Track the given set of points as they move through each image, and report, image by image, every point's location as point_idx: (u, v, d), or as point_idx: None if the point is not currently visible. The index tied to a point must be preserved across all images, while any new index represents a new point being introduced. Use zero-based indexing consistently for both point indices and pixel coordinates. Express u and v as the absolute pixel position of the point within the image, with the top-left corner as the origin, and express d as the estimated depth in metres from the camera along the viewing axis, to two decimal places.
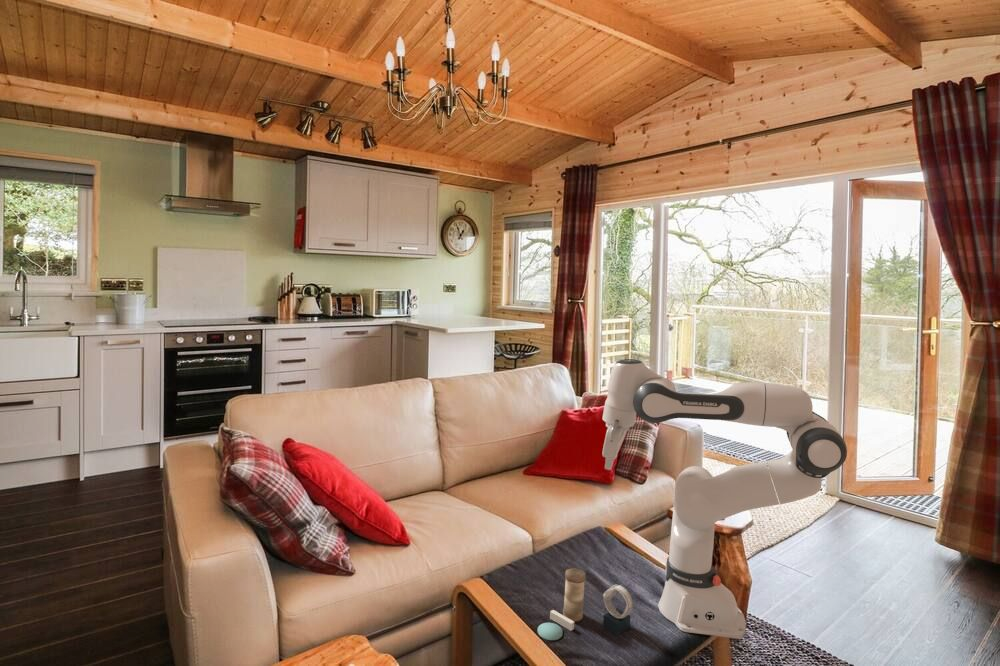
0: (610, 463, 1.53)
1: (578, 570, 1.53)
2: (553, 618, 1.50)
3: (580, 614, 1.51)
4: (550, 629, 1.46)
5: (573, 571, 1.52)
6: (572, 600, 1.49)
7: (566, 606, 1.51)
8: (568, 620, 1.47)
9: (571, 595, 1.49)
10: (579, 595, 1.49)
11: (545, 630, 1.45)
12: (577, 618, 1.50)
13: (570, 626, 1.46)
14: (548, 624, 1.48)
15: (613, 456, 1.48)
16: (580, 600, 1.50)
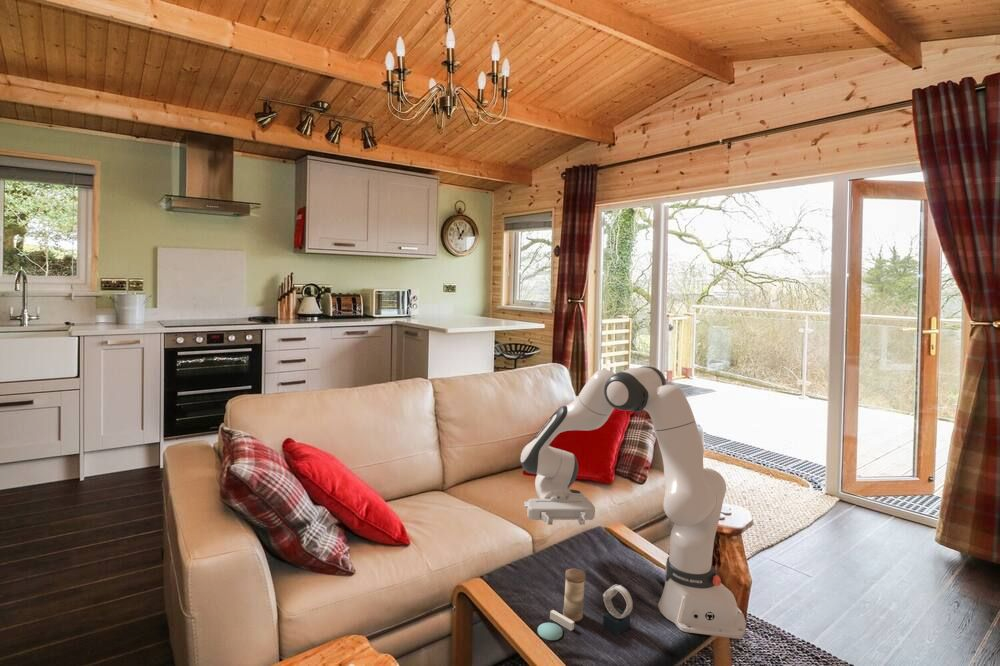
0: (545, 517, 1.63)
1: (578, 570, 1.53)
2: (553, 618, 1.50)
3: (580, 614, 1.51)
4: (550, 629, 1.46)
5: (573, 571, 1.52)
6: (572, 600, 1.49)
7: (566, 606, 1.51)
8: (568, 620, 1.47)
9: (571, 595, 1.49)
10: (579, 595, 1.49)
11: (545, 630, 1.45)
12: (577, 618, 1.50)
13: (570, 626, 1.46)
14: (548, 624, 1.48)
15: (528, 509, 1.66)
16: (580, 600, 1.50)
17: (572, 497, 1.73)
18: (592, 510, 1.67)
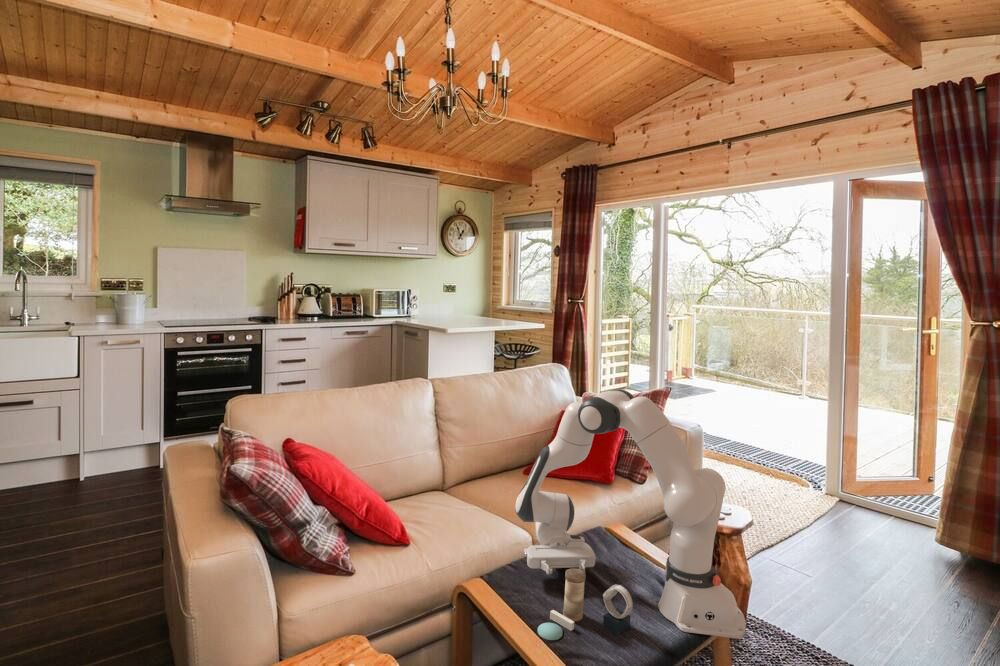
0: (545, 566, 1.63)
1: (578, 570, 1.53)
2: (553, 618, 1.50)
3: (580, 614, 1.51)
4: (550, 629, 1.46)
5: (573, 571, 1.52)
6: (572, 600, 1.49)
7: (566, 606, 1.51)
8: (568, 620, 1.47)
9: (571, 595, 1.49)
10: (579, 595, 1.49)
11: (545, 630, 1.45)
12: (577, 618, 1.50)
13: (570, 626, 1.46)
14: (548, 624, 1.48)
15: (528, 557, 1.66)
16: (580, 600, 1.50)
17: (572, 543, 1.72)
18: (592, 557, 1.67)
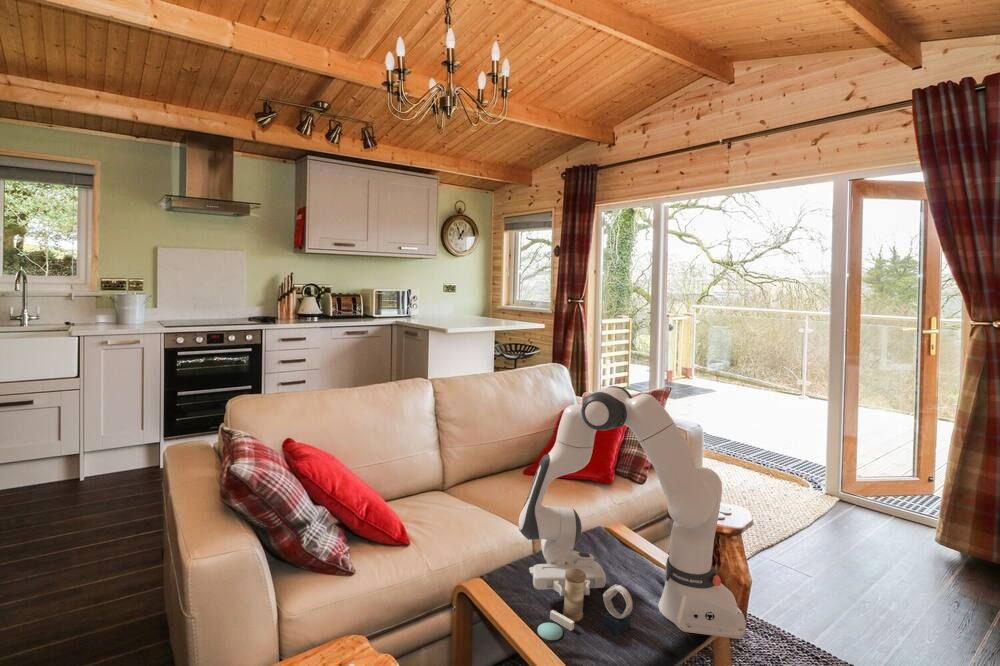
0: (558, 587, 1.52)
1: (578, 570, 1.53)
2: (553, 618, 1.50)
3: (580, 614, 1.51)
4: (550, 629, 1.46)
5: (573, 571, 1.52)
6: (572, 600, 1.49)
7: (566, 606, 1.51)
8: (568, 620, 1.47)
9: (571, 595, 1.49)
10: (579, 595, 1.49)
11: (545, 630, 1.45)
12: (577, 618, 1.50)
13: (570, 626, 1.46)
14: (548, 624, 1.48)
15: (534, 577, 1.55)
16: (580, 600, 1.50)
17: (581, 562, 1.62)
18: (602, 577, 1.56)
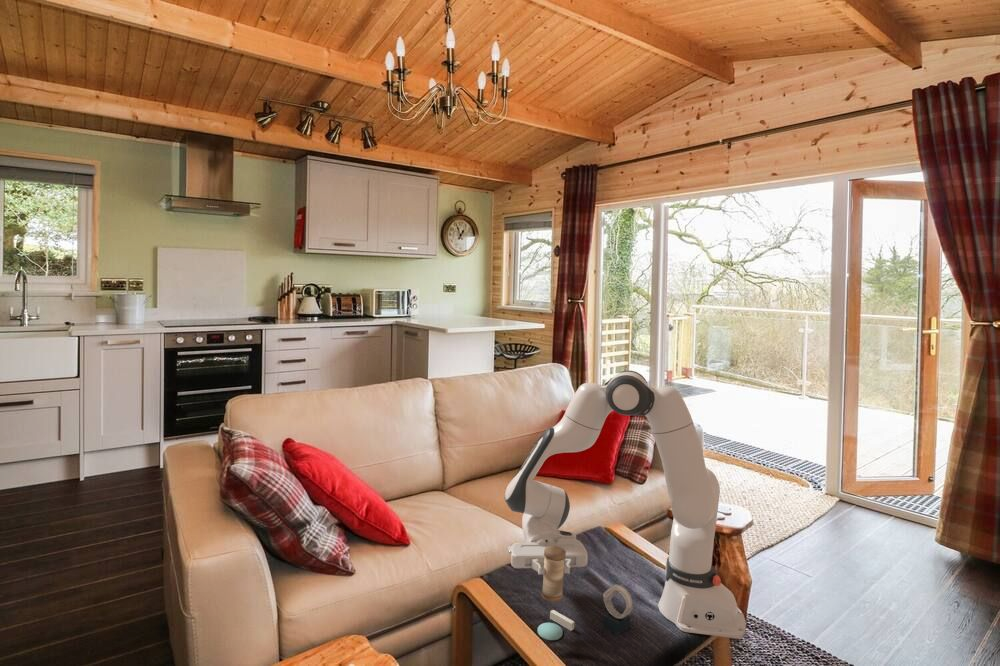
0: (536, 566, 1.44)
1: (558, 547, 1.44)
2: (553, 618, 1.50)
3: (560, 594, 1.42)
4: (550, 629, 1.46)
5: (552, 549, 1.44)
6: (551, 579, 1.41)
7: (545, 585, 1.42)
8: (568, 620, 1.47)
9: (550, 574, 1.41)
10: (558, 573, 1.41)
11: (545, 630, 1.45)
12: (556, 598, 1.42)
13: (570, 626, 1.46)
14: (548, 624, 1.48)
15: (512, 556, 1.47)
16: (559, 579, 1.41)
17: (562, 540, 1.53)
18: (584, 556, 1.48)
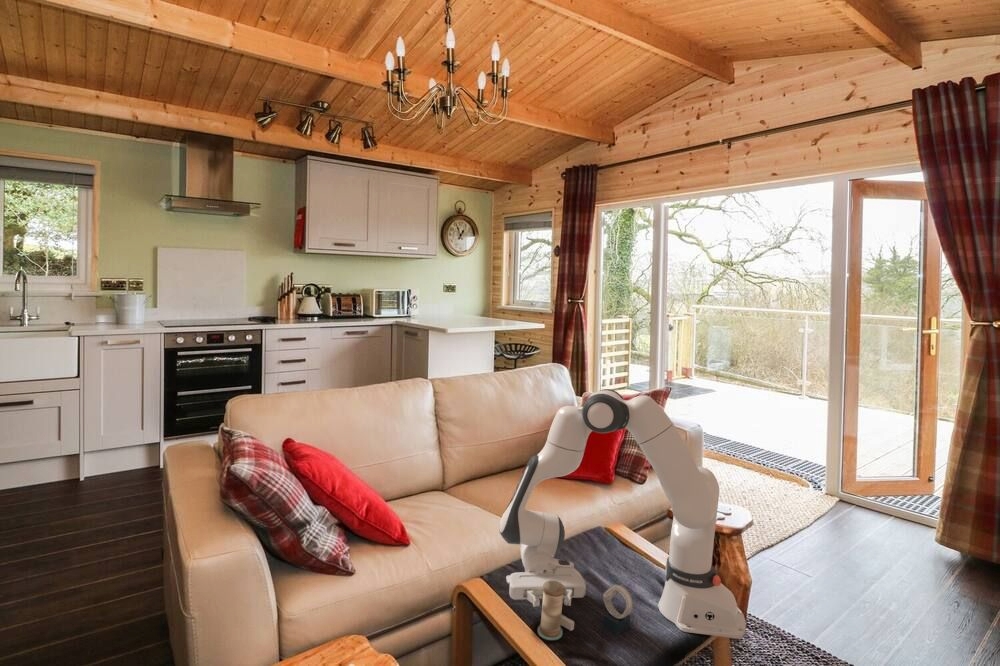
0: (531, 597, 1.45)
1: (557, 582, 1.46)
2: None
3: (557, 629, 1.43)
4: None
5: (551, 584, 1.45)
6: (549, 614, 1.42)
7: (543, 620, 1.44)
8: (568, 620, 1.47)
9: (548, 609, 1.42)
10: (556, 609, 1.42)
11: None
12: (554, 633, 1.43)
13: (570, 626, 1.46)
14: None
15: (510, 587, 1.48)
16: (557, 614, 1.43)
17: (560, 570, 1.54)
18: (582, 587, 1.49)
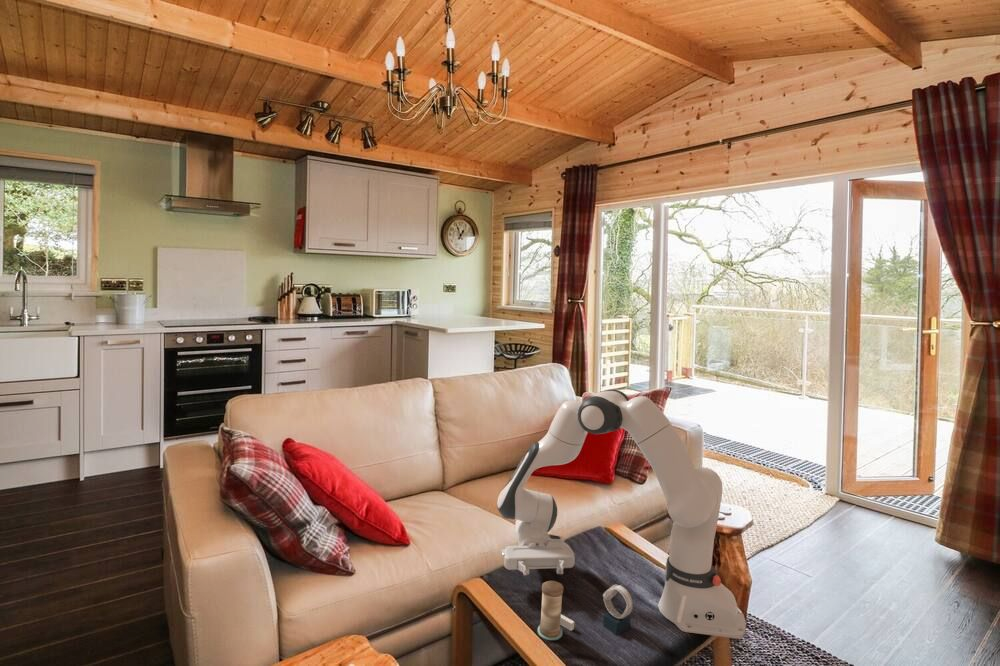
0: (522, 567, 1.57)
1: (556, 583, 1.46)
2: None
3: (557, 629, 1.43)
4: None
5: (550, 584, 1.45)
6: (549, 614, 1.42)
7: (543, 621, 1.44)
8: (568, 620, 1.47)
9: (548, 610, 1.42)
10: (556, 609, 1.42)
11: None
12: (554, 633, 1.43)
13: (570, 626, 1.46)
14: None
15: (505, 558, 1.60)
16: (557, 615, 1.43)
17: (551, 543, 1.67)
18: (571, 558, 1.62)
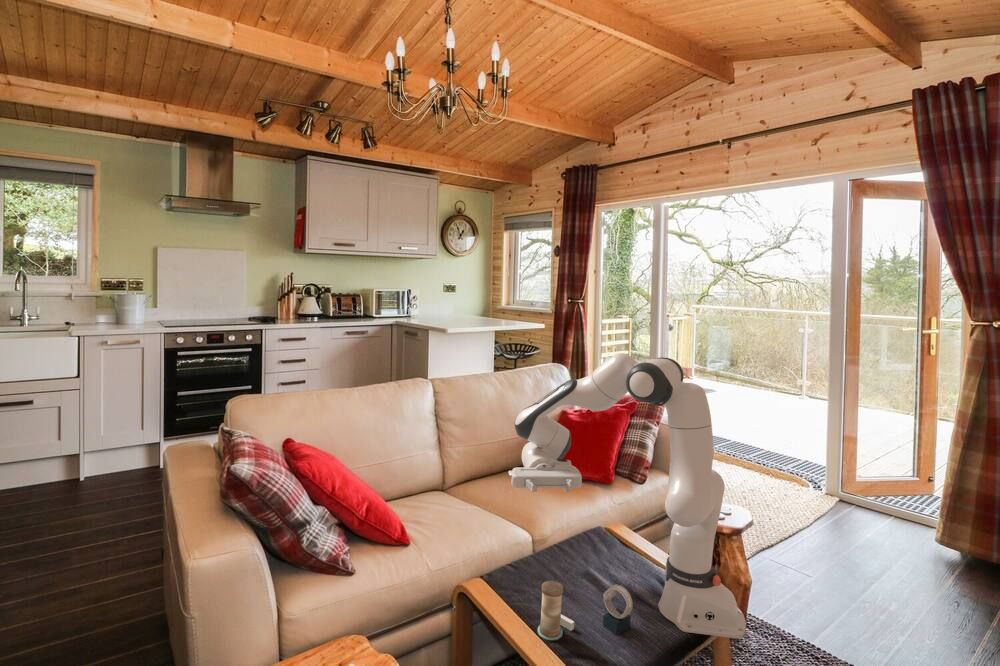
0: (529, 484, 1.57)
1: (555, 583, 1.46)
2: None
3: (557, 629, 1.43)
4: None
5: (550, 584, 1.45)
6: (549, 614, 1.42)
7: (543, 621, 1.44)
8: (568, 620, 1.47)
9: (547, 610, 1.42)
10: (556, 609, 1.42)
11: None
12: (554, 633, 1.43)
13: (570, 626, 1.46)
14: None
15: (512, 476, 1.60)
16: (557, 615, 1.43)
17: (558, 465, 1.67)
18: (578, 477, 1.62)
